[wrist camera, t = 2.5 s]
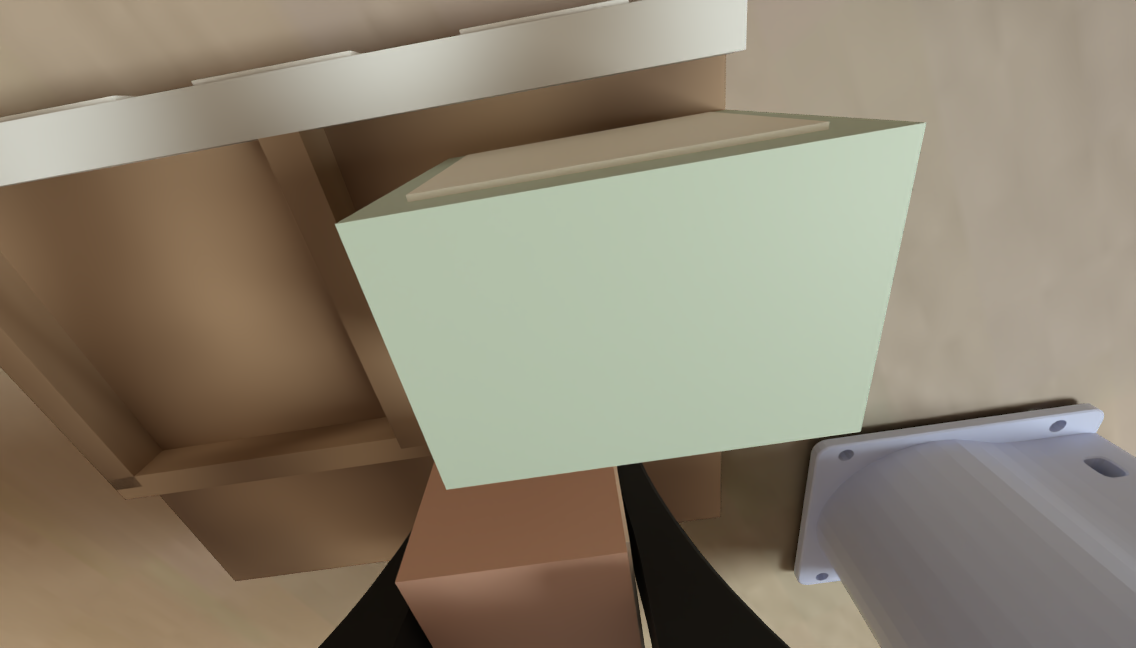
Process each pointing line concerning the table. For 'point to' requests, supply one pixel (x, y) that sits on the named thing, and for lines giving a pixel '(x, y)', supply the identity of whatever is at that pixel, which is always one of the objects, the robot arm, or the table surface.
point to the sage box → (639, 289)
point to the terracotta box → (523, 564)
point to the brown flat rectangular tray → (294, 265)
